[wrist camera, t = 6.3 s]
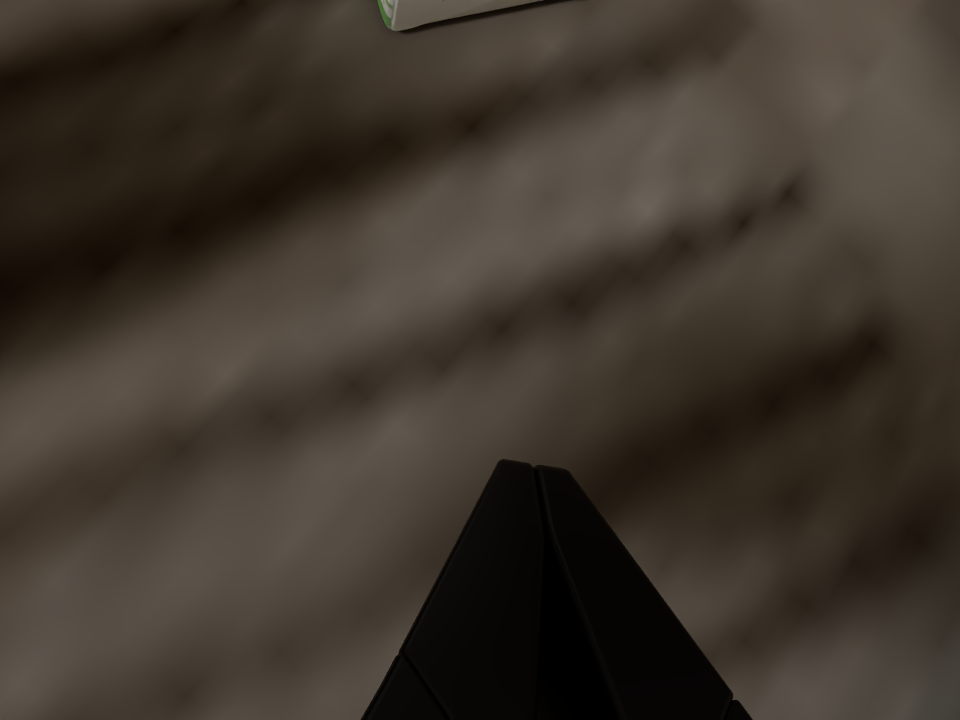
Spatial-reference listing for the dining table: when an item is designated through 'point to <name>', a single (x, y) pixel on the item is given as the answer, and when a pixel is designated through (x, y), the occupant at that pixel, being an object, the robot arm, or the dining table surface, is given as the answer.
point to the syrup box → (436, 10)
